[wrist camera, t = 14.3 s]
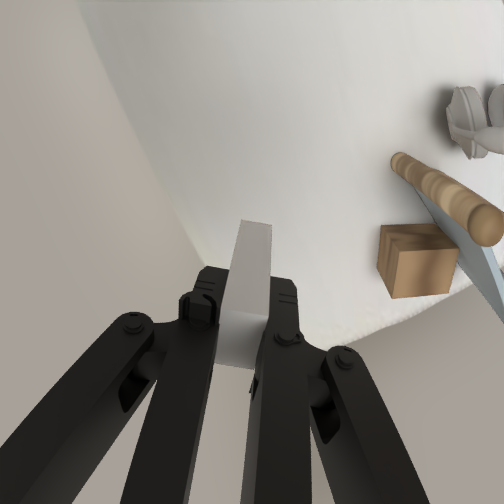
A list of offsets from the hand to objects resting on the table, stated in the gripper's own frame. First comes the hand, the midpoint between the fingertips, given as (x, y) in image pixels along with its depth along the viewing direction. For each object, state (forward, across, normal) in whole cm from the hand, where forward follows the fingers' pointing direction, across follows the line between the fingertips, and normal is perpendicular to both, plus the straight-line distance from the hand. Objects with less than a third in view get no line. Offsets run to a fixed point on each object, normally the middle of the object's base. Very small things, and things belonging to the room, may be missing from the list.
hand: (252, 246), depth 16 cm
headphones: (+27, +28, +12) cm, 40 cm away
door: (+25, +28, -4) cm, 38 cm away
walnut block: (+26, +23, -10) cm, 36 cm away
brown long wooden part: (+26, +20, +2) cm, 33 cm away
